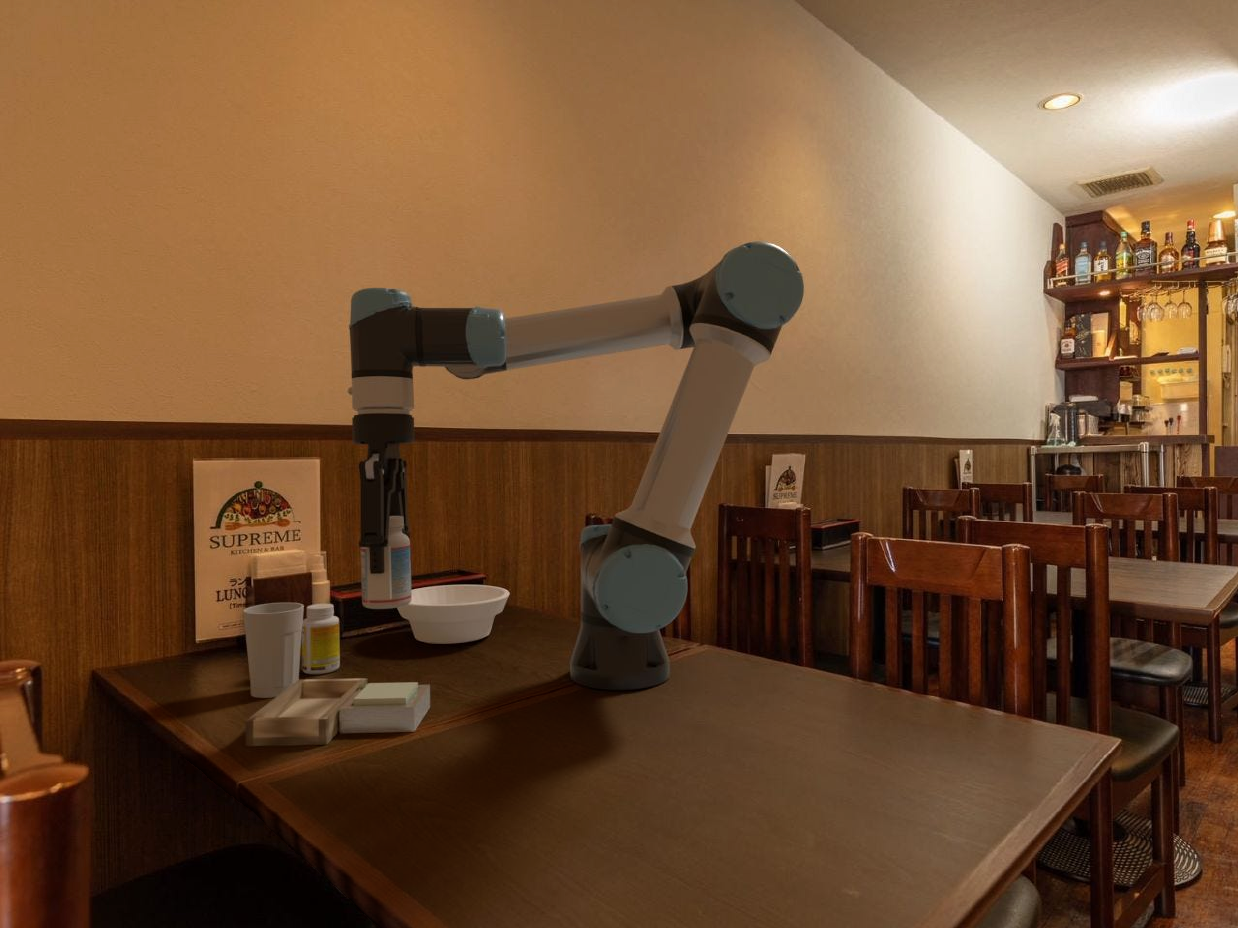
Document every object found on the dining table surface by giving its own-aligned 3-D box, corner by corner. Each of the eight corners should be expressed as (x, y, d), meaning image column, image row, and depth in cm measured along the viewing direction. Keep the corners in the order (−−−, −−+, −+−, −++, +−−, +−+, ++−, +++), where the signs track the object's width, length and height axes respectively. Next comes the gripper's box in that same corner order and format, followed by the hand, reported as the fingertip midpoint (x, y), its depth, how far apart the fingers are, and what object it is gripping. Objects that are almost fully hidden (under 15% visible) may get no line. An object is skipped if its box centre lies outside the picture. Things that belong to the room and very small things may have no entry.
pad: (417, 691, 99) (417, 682, 99) (405, 707, 93) (405, 697, 92) (369, 692, 99) (368, 683, 99) (353, 708, 92) (353, 698, 92)
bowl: (531, 630, 144) (530, 588, 144) (466, 658, 125) (465, 609, 125) (442, 621, 152) (441, 581, 152) (368, 646, 133) (367, 600, 133)
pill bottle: (421, 602, 97) (419, 515, 97) (388, 611, 91) (386, 519, 91) (385, 598, 100) (383, 514, 99) (351, 607, 94) (349, 518, 94)
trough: (367, 699, 103) (367, 678, 103) (326, 744, 87) (326, 718, 87) (299, 701, 103) (298, 679, 103) (245, 746, 87) (245, 720, 87)
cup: (281, 701, 103) (280, 614, 103) (231, 697, 105) (230, 612, 105) (316, 683, 111) (315, 603, 111) (268, 681, 113) (267, 601, 112)
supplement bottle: (347, 667, 119) (346, 603, 119) (320, 677, 114) (319, 610, 114) (321, 664, 122) (320, 601, 122) (294, 673, 117) (293, 607, 116)
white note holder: (430, 706, 100) (430, 681, 100) (414, 731, 91) (414, 704, 91) (361, 707, 100) (360, 683, 100) (338, 733, 91) (337, 706, 91)
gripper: (375, 417, 105) (378, 582, 105) (327, 409, 85) (331, 610, 86) (429, 416, 105) (432, 580, 105) (393, 408, 86) (397, 608, 86)
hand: (387, 593), depth 95 cm, fingers closed on pill bottle, 6 cm apart
